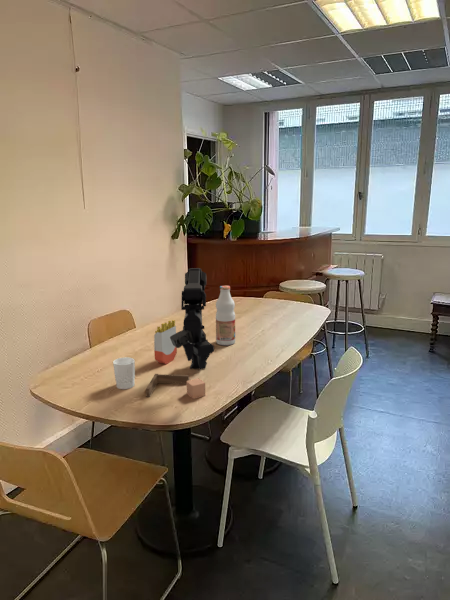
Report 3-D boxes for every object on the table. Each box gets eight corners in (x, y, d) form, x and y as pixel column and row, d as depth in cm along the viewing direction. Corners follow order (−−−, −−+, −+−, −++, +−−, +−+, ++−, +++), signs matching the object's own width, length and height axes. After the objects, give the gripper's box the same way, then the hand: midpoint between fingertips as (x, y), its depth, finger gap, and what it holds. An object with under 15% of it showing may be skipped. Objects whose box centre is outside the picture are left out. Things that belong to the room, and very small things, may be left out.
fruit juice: (212, 341, 217) (211, 286, 211) (228, 338, 222) (227, 283, 216) (222, 347, 209) (222, 289, 203) (239, 343, 215) (238, 286, 208)
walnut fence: (155, 380, 172) (155, 373, 172) (189, 381, 171) (188, 374, 170) (146, 396, 159) (145, 389, 158) (182, 397, 158) (182, 390, 157)
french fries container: (154, 364, 189) (152, 324, 185) (168, 356, 198) (166, 317, 194) (163, 366, 187) (161, 325, 183) (177, 357, 196) (175, 318, 192)
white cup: (137, 381, 172) (136, 357, 170) (134, 389, 165) (132, 364, 162) (117, 381, 172) (115, 357, 170) (112, 390, 164) (111, 365, 162)
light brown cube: (186, 393, 161) (186, 381, 160) (199, 390, 163) (198, 378, 162) (192, 399, 157) (192, 386, 156) (205, 395, 159) (205, 382, 158)
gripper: (161, 320, 158) (163, 361, 161) (184, 333, 142) (185, 378, 146) (190, 315, 163) (191, 355, 167) (214, 328, 147) (215, 371, 151)
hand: (195, 364), depth 158 cm, fingers open, 9 cm apart
